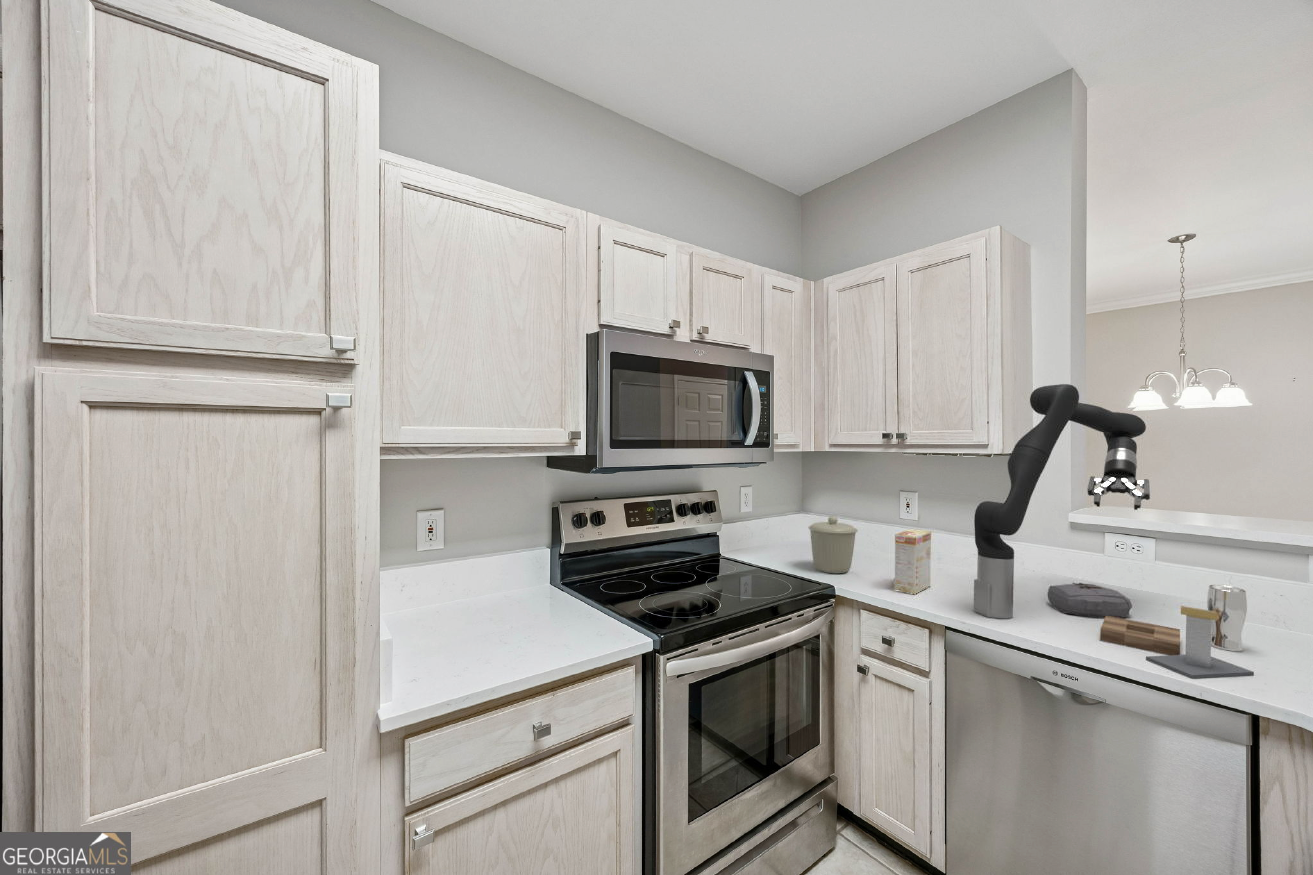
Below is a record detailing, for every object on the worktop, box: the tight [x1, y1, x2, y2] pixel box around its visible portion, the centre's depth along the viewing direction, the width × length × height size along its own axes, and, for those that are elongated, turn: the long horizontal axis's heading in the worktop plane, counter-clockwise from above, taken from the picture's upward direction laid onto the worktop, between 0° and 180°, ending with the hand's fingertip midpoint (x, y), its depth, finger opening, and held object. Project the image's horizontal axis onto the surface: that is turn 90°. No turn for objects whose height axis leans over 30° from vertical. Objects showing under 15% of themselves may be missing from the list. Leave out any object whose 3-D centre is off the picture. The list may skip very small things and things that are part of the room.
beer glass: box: [1206, 584, 1248, 653], centre depth 139 cm, size 7×7×15 cm
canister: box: [808, 515, 859, 574], centre depth 212 cm, size 18×18×21 cm
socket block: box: [1099, 616, 1181, 656], centre depth 143 cm, size 15×15×3 cm
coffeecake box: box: [894, 528, 932, 595], centre depth 188 cm, size 15×7×20 cm, turn 134°
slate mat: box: [1145, 654, 1255, 680], centre depth 126 cm, size 16×10×1 cm, turn 97°
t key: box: [1180, 605, 1218, 669], centre depth 127 cm, size 6×4×13 cm, turn 47°
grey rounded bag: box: [1047, 582, 1133, 619], centre depth 166 cm, size 15×8×20 cm
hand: (1116, 506), depth 161 cm, fingers open, 8 cm apart
